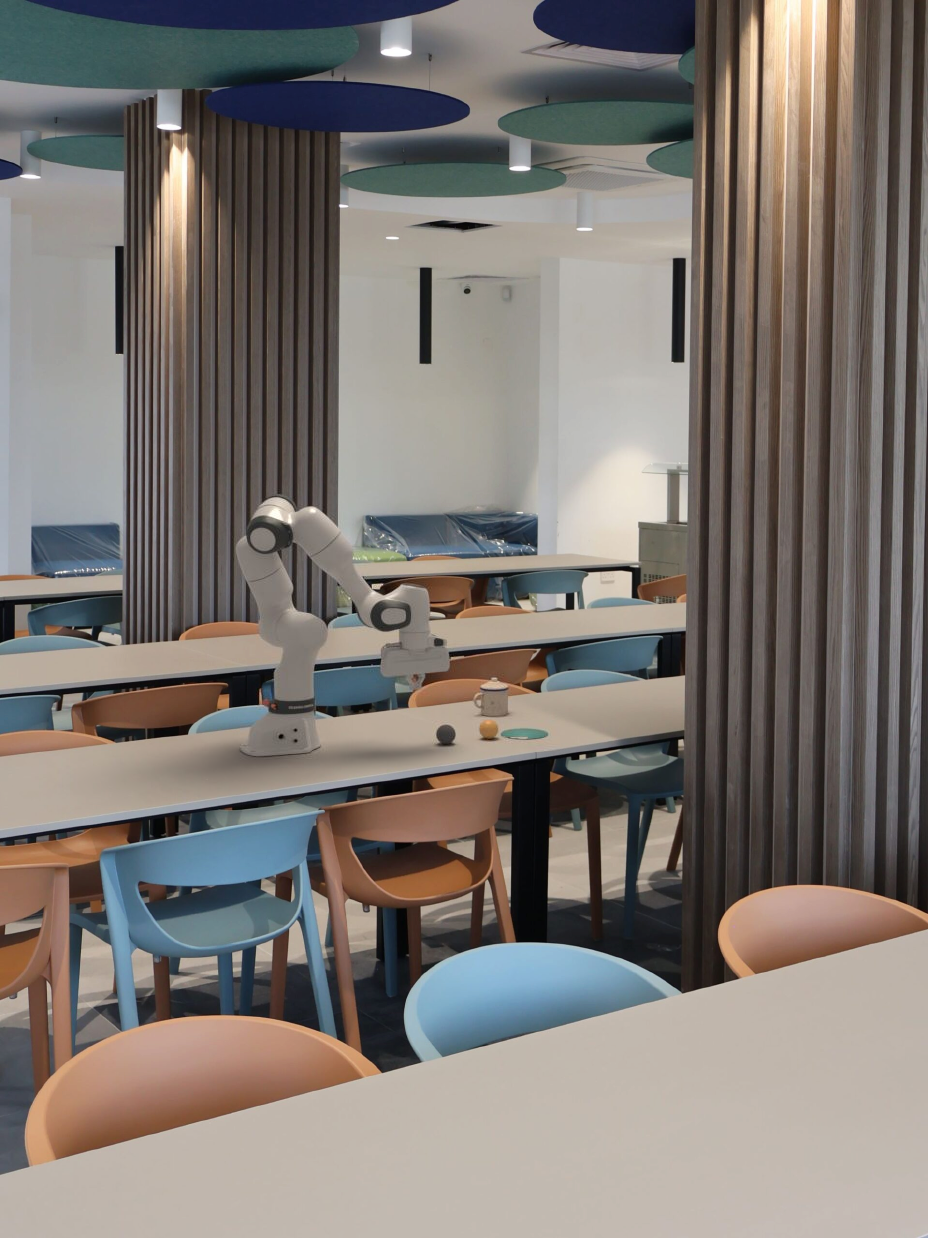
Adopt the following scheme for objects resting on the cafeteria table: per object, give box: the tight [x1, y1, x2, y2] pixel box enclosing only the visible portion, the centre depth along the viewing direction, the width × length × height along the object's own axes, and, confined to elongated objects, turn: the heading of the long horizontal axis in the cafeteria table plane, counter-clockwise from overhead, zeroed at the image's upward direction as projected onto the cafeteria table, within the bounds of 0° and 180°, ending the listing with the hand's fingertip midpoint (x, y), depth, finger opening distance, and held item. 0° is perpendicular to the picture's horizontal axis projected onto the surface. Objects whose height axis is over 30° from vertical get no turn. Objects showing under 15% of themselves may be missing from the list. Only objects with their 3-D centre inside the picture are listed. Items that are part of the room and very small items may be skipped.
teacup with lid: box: [473, 677, 509, 718], centre depth 404 cm, size 12×9×12 cm
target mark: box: [500, 727, 549, 740], centre depth 376 cm, size 14×14×1 cm
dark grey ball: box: [435, 724, 457, 745], centre depth 364 cm, size 6×6×6 cm
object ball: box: [478, 719, 499, 740], centre depth 371 cm, size 6×6×6 cm
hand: (415, 689), depth 358 cm, fingers closed
